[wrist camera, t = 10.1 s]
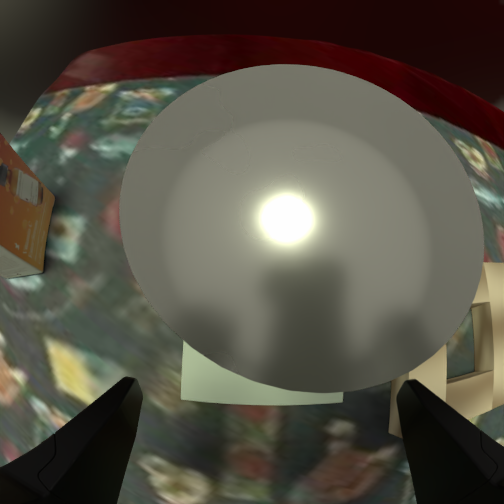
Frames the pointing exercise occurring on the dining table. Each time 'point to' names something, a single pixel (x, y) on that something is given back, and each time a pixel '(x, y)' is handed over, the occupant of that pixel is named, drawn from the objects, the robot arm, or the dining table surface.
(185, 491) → the dining table surface
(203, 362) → the pad
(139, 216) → the dome-ended metal peg
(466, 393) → the socket block
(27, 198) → the small box
